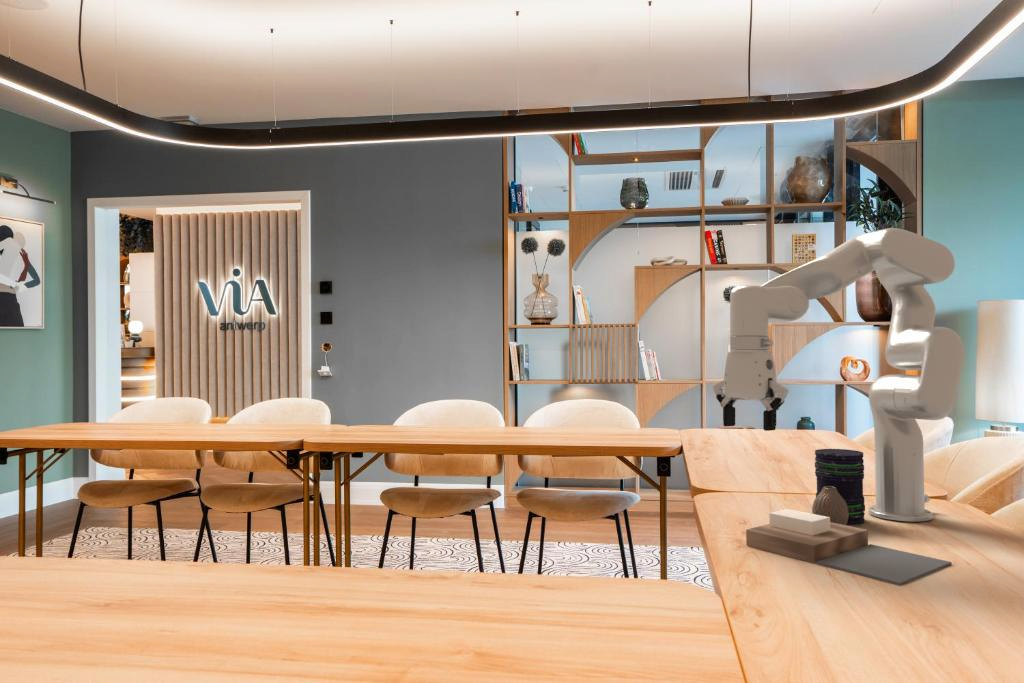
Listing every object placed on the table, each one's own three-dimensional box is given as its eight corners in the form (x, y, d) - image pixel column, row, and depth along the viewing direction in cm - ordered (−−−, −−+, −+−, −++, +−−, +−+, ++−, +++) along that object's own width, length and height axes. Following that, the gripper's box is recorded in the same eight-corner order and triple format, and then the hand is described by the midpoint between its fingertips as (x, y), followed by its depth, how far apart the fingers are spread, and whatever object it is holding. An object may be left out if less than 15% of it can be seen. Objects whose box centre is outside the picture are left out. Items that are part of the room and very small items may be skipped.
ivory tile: (787, 521, 138) (787, 508, 138) (830, 530, 131) (830, 517, 131) (769, 525, 135) (769, 513, 135) (812, 535, 127) (812, 522, 127)
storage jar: (828, 512, 158) (827, 447, 158) (873, 520, 150) (871, 451, 150) (807, 519, 151) (806, 451, 152) (852, 528, 144) (851, 456, 144)
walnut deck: (800, 530, 142) (800, 516, 142) (868, 545, 131) (867, 529, 131) (746, 545, 132) (746, 529, 132) (814, 563, 120) (814, 545, 120)
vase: (805, 527, 145) (804, 485, 145) (828, 523, 148) (827, 482, 148) (832, 535, 139) (831, 491, 139) (856, 531, 141) (855, 488, 142)
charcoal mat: (870, 546, 130) (870, 544, 130) (951, 564, 119) (951, 562, 119) (817, 563, 120) (816, 561, 120) (899, 585, 109) (899, 582, 109)
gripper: (797, 345, 138) (797, 431, 137) (725, 346, 152) (725, 423, 151) (775, 344, 133) (775, 433, 133) (703, 345, 147) (703, 425, 147)
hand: (748, 428), depth 142 cm, fingers open, 9 cm apart
